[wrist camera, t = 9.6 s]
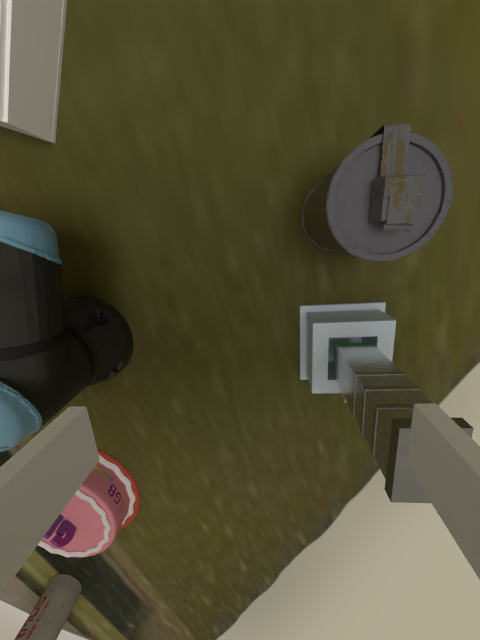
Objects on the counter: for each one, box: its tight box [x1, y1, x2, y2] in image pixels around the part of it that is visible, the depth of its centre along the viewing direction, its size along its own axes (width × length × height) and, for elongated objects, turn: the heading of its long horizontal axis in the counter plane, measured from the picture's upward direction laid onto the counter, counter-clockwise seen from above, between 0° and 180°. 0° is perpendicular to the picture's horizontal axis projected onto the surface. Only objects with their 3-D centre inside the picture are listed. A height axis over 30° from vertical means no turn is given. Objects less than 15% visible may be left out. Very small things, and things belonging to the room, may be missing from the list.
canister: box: [301, 123, 453, 262], centre depth 31 cm, size 11×10×20 cm
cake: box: [38, 449, 140, 557], centre depth 56 cm, size 25×25×11 cm
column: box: [334, 342, 473, 503], centre depth 30 cm, size 5×7×19 cm
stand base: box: [299, 301, 396, 403], centre depth 42 cm, size 13×13×9 cm
